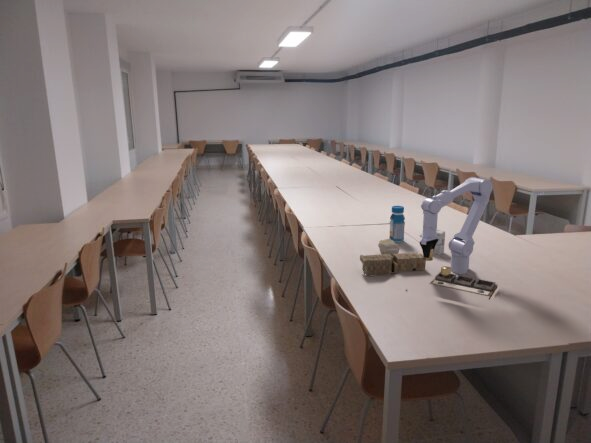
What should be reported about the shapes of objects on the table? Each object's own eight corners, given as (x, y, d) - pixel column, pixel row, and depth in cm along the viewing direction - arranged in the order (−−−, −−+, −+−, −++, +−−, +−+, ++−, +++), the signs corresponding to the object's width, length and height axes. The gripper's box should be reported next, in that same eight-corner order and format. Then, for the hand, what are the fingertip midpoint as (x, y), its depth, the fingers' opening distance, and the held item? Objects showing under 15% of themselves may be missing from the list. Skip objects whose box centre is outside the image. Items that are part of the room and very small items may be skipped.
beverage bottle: (398, 243, 239) (399, 209, 234) (386, 240, 245) (387, 206, 240) (407, 240, 244) (408, 206, 239) (394, 237, 251) (396, 204, 246)
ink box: (424, 251, 224) (425, 230, 222) (429, 249, 228) (430, 228, 225) (440, 255, 219) (441, 232, 216) (444, 252, 222) (445, 230, 219)
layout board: (439, 275, 191) (440, 270, 190) (497, 287, 177) (497, 281, 177) (429, 286, 180) (429, 280, 179) (489, 299, 166) (490, 293, 166)
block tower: (418, 269, 203) (358, 270, 200) (419, 252, 201) (359, 253, 198) (424, 274, 196) (363, 276, 192) (426, 257, 194) (364, 259, 190)
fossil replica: (403, 254, 222) (385, 252, 228) (403, 238, 221) (385, 237, 227) (394, 258, 212) (375, 256, 218) (393, 242, 211) (375, 241, 217)
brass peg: (425, 257, 189) (425, 246, 188) (434, 258, 187) (434, 248, 186) (421, 259, 186) (422, 248, 185) (430, 261, 184) (431, 250, 182)
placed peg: (442, 276, 187) (442, 265, 186) (451, 278, 185) (452, 267, 184) (439, 279, 184) (439, 268, 183) (448, 281, 182) (449, 270, 181)
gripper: (426, 221, 191) (425, 250, 194) (414, 228, 179) (413, 259, 183) (442, 223, 187) (440, 252, 190) (431, 231, 175) (429, 262, 179)
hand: (428, 256), depth 186 cm, fingers closed on brass peg, 4 cm apart
